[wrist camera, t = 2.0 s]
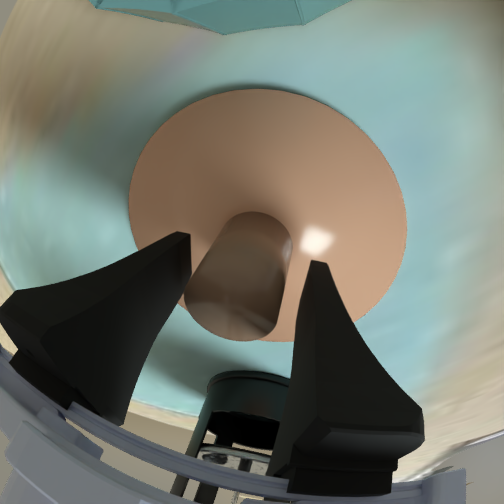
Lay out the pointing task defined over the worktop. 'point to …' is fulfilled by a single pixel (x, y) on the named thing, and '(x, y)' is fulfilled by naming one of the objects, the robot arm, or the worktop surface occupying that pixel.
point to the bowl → (224, 12)
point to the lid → (269, 208)
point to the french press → (237, 427)
